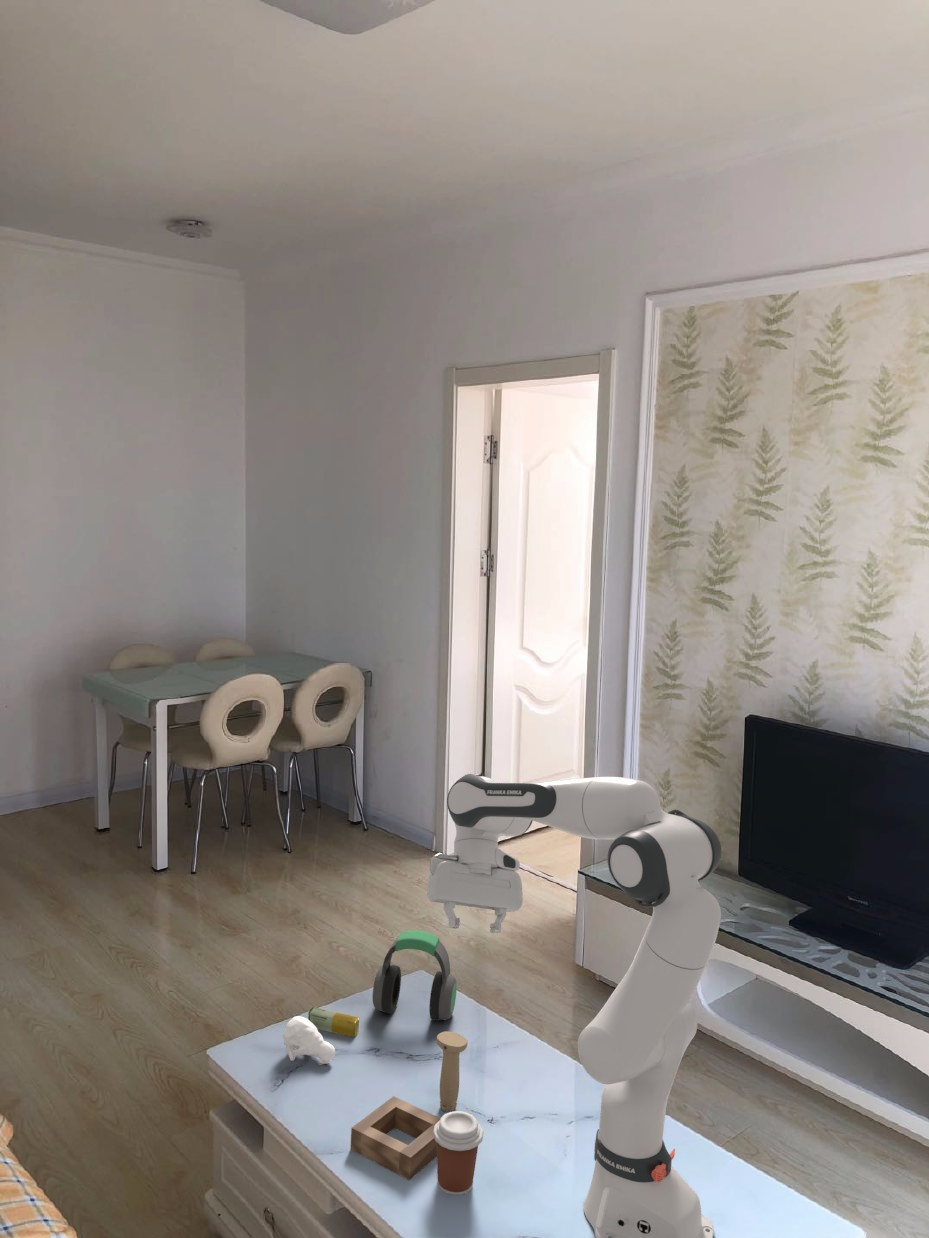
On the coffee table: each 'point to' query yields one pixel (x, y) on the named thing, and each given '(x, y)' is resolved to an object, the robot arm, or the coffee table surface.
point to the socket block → (389, 1151)
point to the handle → (450, 1068)
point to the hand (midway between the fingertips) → (475, 930)
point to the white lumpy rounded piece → (306, 1040)
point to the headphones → (390, 976)
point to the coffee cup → (457, 1151)
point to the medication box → (334, 1022)
